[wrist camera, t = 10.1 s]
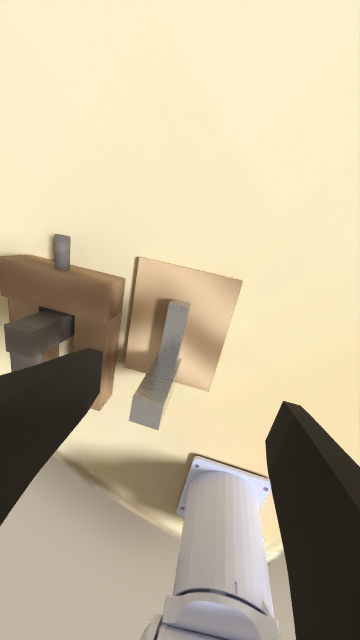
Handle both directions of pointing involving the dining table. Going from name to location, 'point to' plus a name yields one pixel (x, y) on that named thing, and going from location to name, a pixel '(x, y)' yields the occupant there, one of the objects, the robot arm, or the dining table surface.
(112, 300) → the vise
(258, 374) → the dining table surface
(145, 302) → the cork mat
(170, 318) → the grey l-shaped block
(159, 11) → the dining table surface
